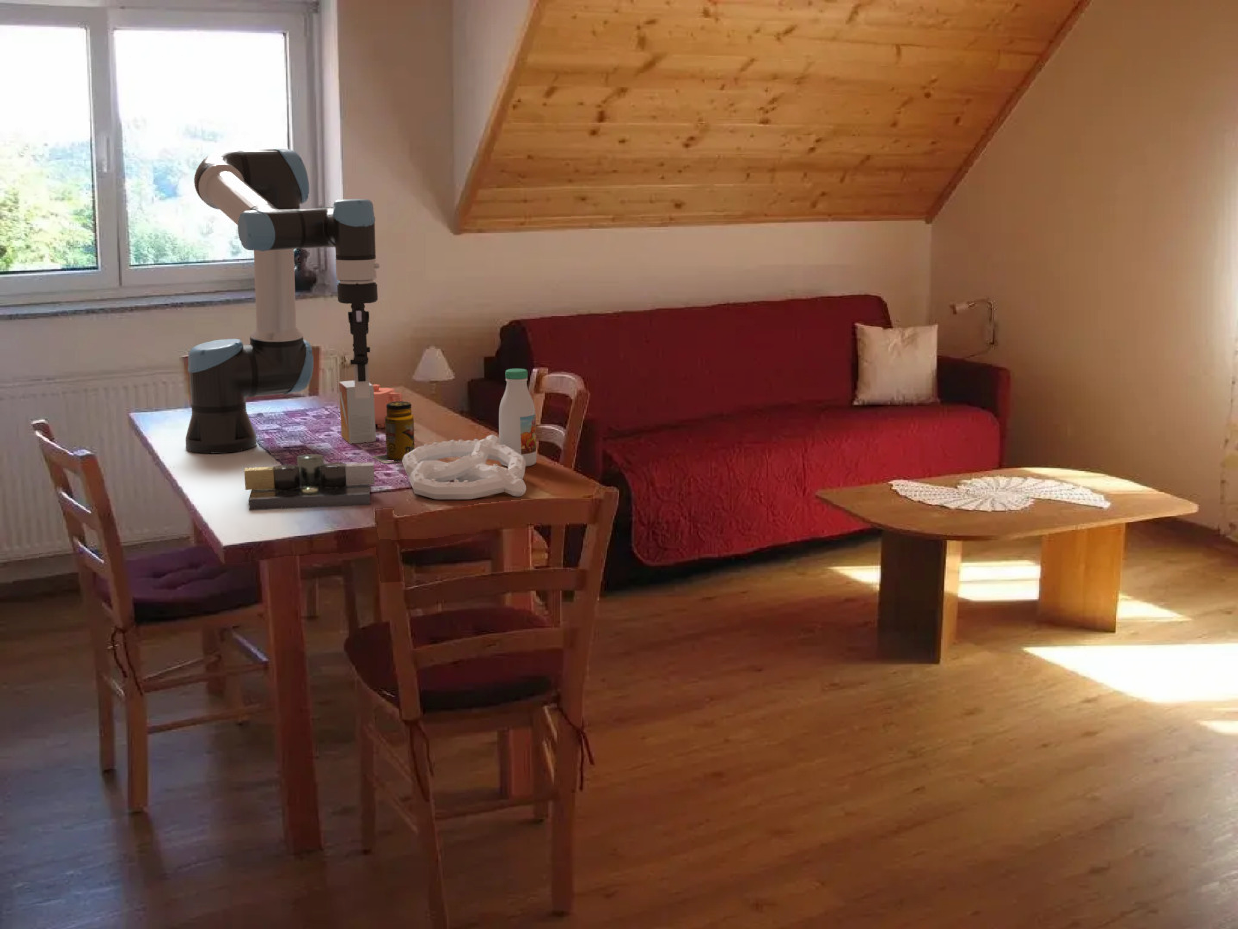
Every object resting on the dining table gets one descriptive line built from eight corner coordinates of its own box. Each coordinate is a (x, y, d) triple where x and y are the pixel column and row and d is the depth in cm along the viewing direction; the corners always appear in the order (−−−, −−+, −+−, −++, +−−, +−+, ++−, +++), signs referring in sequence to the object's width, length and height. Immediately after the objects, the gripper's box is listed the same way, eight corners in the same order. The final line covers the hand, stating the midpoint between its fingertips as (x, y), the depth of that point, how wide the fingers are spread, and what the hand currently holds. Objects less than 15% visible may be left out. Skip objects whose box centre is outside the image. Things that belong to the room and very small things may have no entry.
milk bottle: (508, 469, 290) (506, 374, 285) (494, 462, 297) (492, 368, 292) (542, 465, 293) (541, 371, 289) (527, 458, 300) (526, 365, 295)
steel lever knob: (321, 481, 270) (320, 463, 269) (374, 479, 272) (373, 461, 271) (321, 488, 265) (320, 469, 265) (374, 485, 267) (373, 466, 266)
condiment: (422, 459, 299) (420, 404, 297) (385, 464, 295) (383, 408, 292) (407, 453, 305) (405, 398, 303) (371, 457, 301) (369, 402, 298)
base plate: (254, 490, 273) (252, 455, 272) (369, 485, 277) (367, 450, 275) (249, 510, 259) (246, 473, 257) (370, 504, 263) (368, 468, 261)
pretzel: (542, 504, 269) (541, 472, 266) (418, 517, 263) (416, 485, 260) (511, 454, 294) (511, 425, 291) (398, 465, 288) (396, 436, 285)
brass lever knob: (246, 485, 268) (245, 466, 267) (300, 482, 269) (299, 464, 269) (244, 491, 263) (243, 472, 262) (299, 489, 265) (298, 470, 264)
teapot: (344, 422, 338) (342, 383, 335) (392, 418, 343) (390, 379, 341) (358, 431, 328) (356, 390, 325) (407, 426, 333) (405, 386, 330)
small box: (341, 437, 321) (338, 381, 318) (368, 435, 324) (366, 379, 321) (348, 444, 314) (346, 386, 311) (376, 441, 316) (374, 384, 313)
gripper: (378, 287, 256) (383, 402, 260) (375, 275, 279) (380, 380, 284) (336, 288, 254) (342, 404, 259) (337, 276, 278) (342, 382, 283)
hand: (362, 392), depth 272 cm, fingers open, 13 cm apart
